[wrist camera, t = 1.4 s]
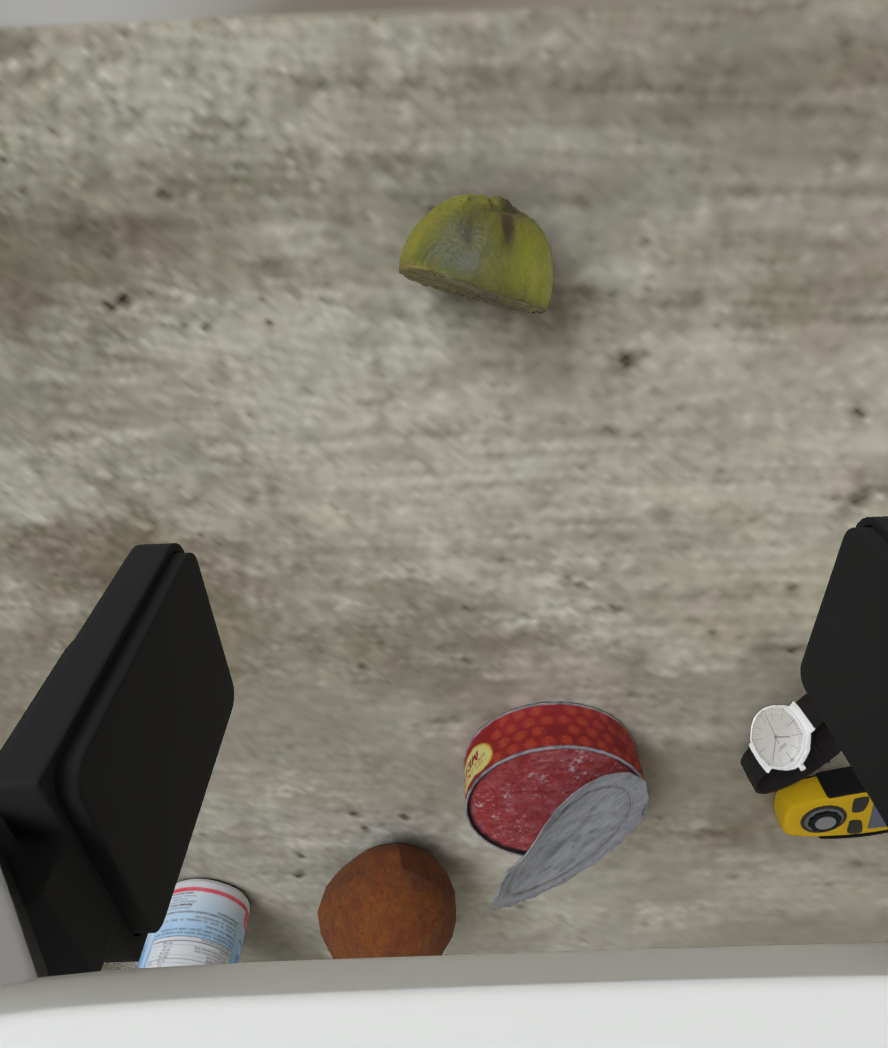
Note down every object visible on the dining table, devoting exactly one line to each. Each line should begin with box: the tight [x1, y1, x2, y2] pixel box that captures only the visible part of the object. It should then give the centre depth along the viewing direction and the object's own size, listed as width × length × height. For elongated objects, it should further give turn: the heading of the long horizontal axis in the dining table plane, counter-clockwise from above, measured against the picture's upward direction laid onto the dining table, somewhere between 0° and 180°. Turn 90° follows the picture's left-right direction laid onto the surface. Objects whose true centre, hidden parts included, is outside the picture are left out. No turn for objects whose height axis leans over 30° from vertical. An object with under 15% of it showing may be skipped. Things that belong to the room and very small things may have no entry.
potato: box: [318, 843, 456, 959], centre depth 42 cm, size 8×11×8 cm
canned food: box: [464, 702, 649, 909], centre depth 37 cm, size 11×10×10 cm
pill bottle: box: [137, 879, 250, 968], centre depth 43 cm, size 6×6×11 cm
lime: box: [399, 194, 553, 314], centre depth 22 cm, size 4×5×5 cm
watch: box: [741, 694, 841, 794], centre depth 36 cm, size 8×5×4 cm, turn 157°
